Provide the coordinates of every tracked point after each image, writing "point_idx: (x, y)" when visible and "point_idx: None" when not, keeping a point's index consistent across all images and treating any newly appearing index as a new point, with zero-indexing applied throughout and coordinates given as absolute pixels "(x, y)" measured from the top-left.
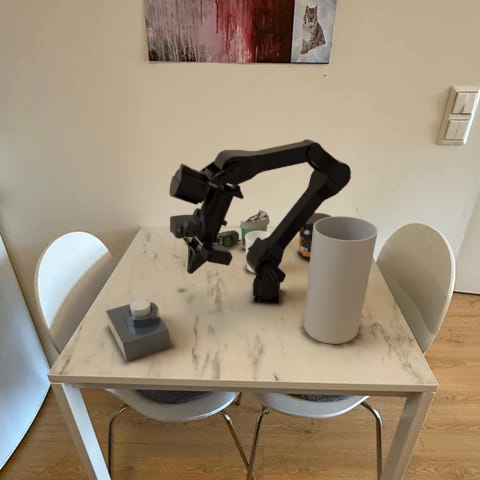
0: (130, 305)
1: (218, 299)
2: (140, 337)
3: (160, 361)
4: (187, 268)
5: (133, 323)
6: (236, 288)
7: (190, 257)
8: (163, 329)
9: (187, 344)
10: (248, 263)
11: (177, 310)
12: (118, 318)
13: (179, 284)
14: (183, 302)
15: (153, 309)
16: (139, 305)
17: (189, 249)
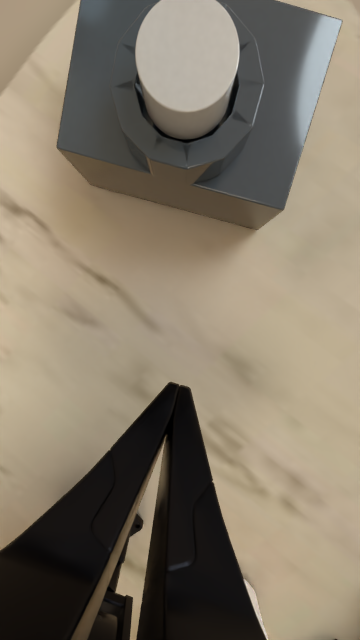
0: (214, 2)
1: None
2: (77, 27)
3: (57, 124)
4: (188, 401)
5: None
6: None
7: (166, 491)
8: (66, 132)
9: (71, 227)
10: (90, 637)
11: (222, 307)
12: (251, 31)
13: (331, 398)
14: (242, 345)
15: (152, 133)
16: (180, 44)
17: (202, 604)
